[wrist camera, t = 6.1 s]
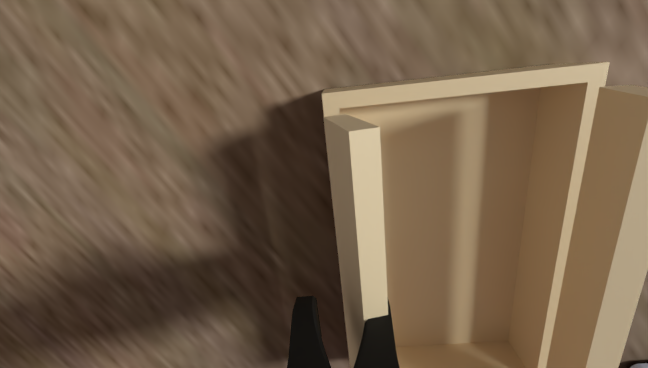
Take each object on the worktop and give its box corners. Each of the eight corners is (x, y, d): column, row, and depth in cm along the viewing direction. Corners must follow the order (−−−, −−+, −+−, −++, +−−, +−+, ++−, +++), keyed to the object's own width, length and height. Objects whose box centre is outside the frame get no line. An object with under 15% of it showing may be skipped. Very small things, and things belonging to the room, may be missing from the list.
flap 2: (559, 473, 12) (584, 481, 12) (653, 97, 7) (699, 95, 7) (540, 397, 15) (560, 402, 15) (599, 86, 10) (631, 84, 10)
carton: (551, 63, 13) (609, 61, 11) (514, 342, 19) (545, 389, 16) (323, 89, 14) (320, 93, 11) (350, 351, 19) (353, 398, 17)
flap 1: (379, 127, 8) (348, 131, 7) (395, 482, 13) (377, 488, 12) (346, 113, 11) (323, 116, 10) (369, 405, 16) (354, 409, 15)
